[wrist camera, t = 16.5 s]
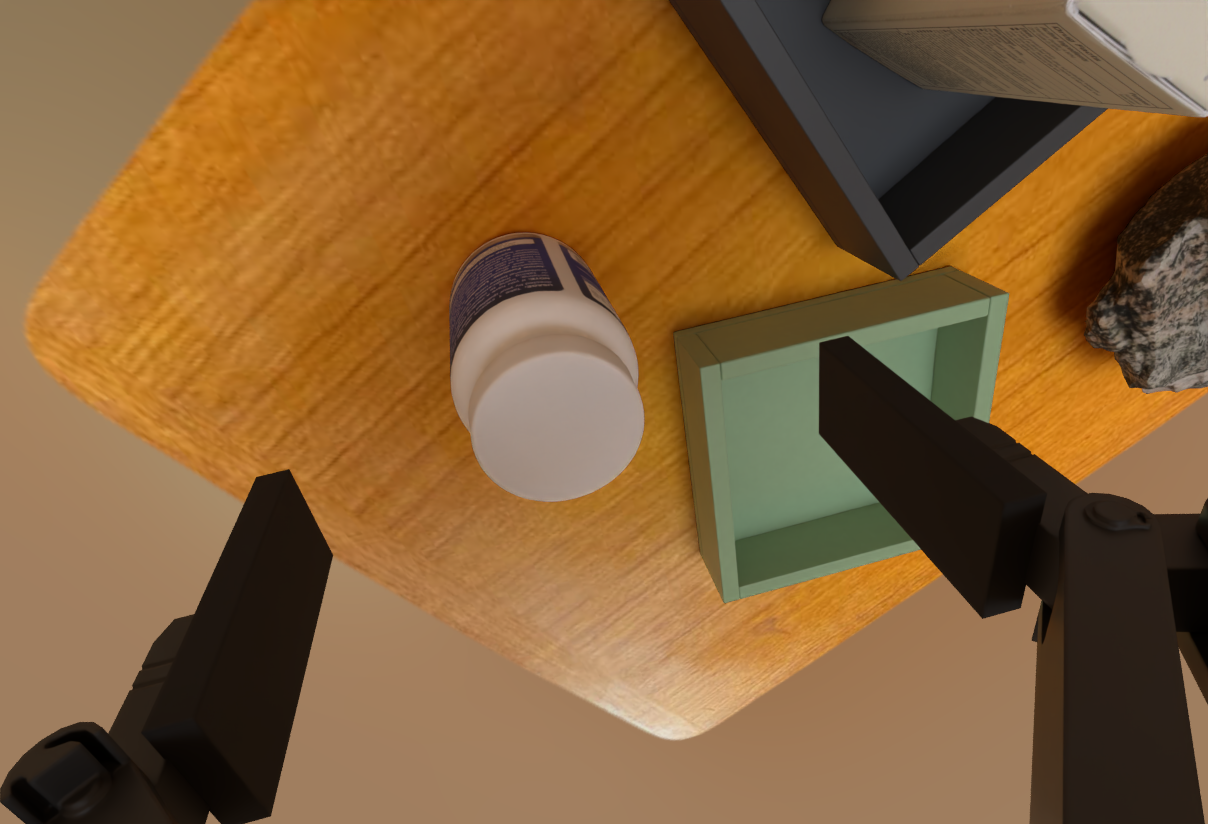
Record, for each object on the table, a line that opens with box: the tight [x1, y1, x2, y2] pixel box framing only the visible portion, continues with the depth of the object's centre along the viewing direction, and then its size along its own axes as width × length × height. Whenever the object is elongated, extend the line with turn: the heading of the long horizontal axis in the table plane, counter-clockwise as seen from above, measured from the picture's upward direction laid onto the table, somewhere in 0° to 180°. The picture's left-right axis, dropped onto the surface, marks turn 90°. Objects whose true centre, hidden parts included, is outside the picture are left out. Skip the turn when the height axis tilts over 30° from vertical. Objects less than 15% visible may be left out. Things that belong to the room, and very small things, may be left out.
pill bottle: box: [449, 233, 644, 502], centre depth 22 cm, size 6×6×10 cm
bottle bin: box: [673, 266, 1009, 603], centre depth 30 cm, size 13×13×4 cm
